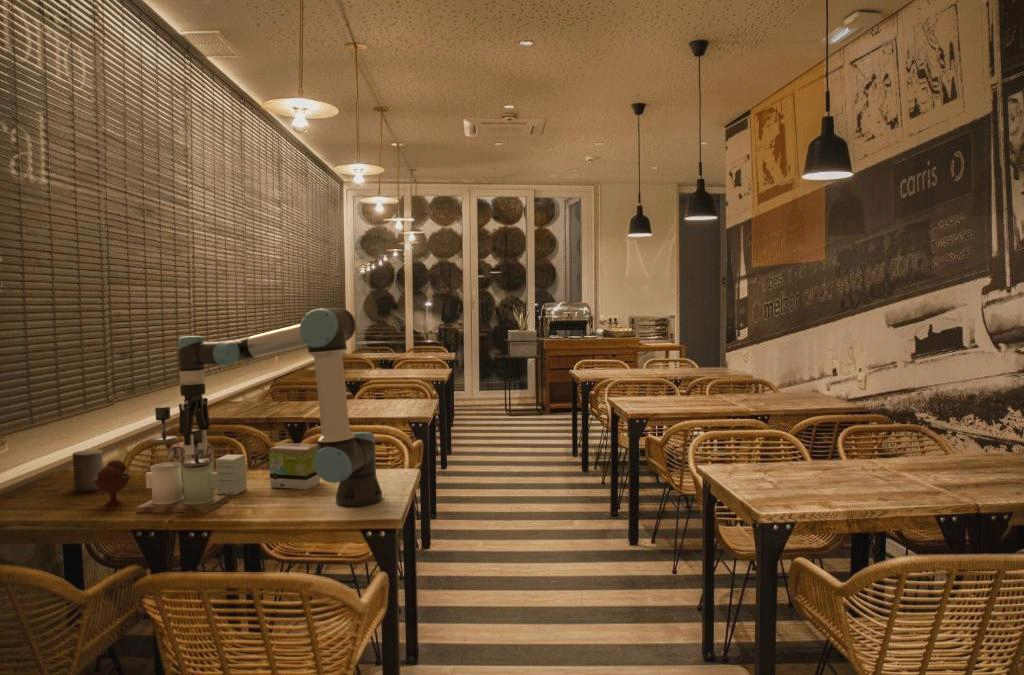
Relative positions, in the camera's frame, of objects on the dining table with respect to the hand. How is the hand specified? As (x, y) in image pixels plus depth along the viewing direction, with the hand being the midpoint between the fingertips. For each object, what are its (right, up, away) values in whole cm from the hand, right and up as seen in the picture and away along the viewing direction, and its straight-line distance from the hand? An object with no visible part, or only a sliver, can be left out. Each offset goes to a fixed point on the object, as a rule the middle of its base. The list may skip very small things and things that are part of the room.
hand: (196, 451), depth 241 cm
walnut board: (-5, -18, +2) cm, 19 cm away
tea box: (+25, -16, +25) cm, 39 cm away
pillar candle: (-52, -18, +29) cm, 62 cm away
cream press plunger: (-11, +4, +1) cm, 12 cm away
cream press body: (-10, -17, +2) cm, 20 cm away
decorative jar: (-14, -17, +30) cm, 37 cm away
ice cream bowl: (-31, -19, +6) cm, 37 cm away
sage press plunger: (0, -4, 0) cm, 4 cm away
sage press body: (0, -17, +1) cm, 17 cm away
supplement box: (+5, -17, +19) cm, 26 cm away
